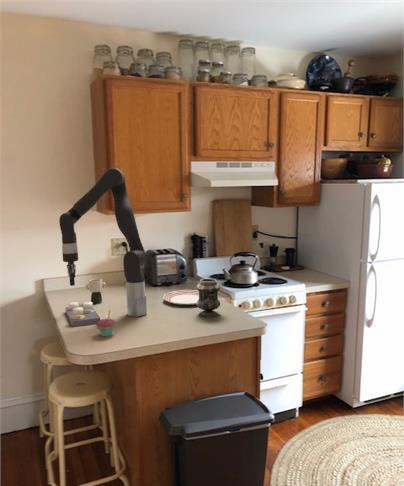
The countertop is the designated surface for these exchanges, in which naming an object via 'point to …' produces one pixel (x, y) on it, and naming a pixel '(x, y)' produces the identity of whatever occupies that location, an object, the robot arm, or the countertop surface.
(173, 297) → the dinner plate
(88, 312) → the button board
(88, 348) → the countertop surface
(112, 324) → the cupcake
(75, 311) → the button front
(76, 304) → the button back
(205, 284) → the apothecary jar
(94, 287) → the character mug
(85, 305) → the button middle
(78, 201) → the robot arm
